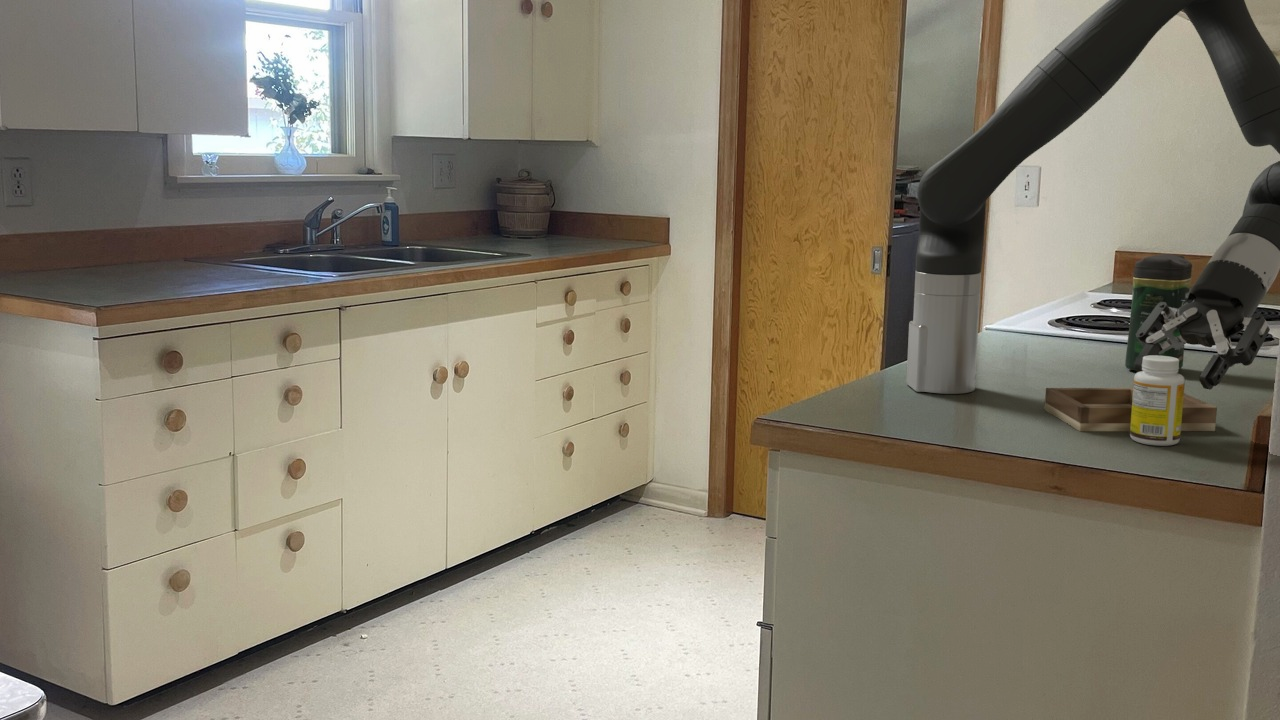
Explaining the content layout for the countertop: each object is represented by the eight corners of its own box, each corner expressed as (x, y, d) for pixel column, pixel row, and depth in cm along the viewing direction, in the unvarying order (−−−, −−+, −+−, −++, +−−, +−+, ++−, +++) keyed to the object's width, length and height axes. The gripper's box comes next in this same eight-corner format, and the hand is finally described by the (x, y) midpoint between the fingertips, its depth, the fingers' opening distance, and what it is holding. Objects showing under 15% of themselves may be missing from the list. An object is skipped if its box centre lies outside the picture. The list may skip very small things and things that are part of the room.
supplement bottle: (1163, 435, 139) (1170, 353, 137) (1189, 446, 134) (1196, 361, 132) (1120, 436, 139) (1126, 354, 137) (1144, 447, 133) (1151, 362, 131)
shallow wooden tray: (1079, 431, 141) (1081, 407, 141) (1044, 409, 153) (1046, 388, 152) (1214, 430, 141) (1217, 407, 141) (1169, 409, 153) (1171, 387, 153)
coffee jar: (1172, 378, 175) (1182, 257, 171) (1119, 371, 180) (1128, 255, 176) (1188, 368, 182) (1199, 253, 179) (1137, 363, 187) (1146, 250, 184)
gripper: (1172, 253, 144) (1107, 350, 140) (1283, 262, 132) (1216, 368, 128) (1194, 292, 148) (1131, 387, 144) (1304, 304, 136) (1239, 409, 132)
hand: (1171, 378), depth 136 cm, fingers open, 8 cm apart
